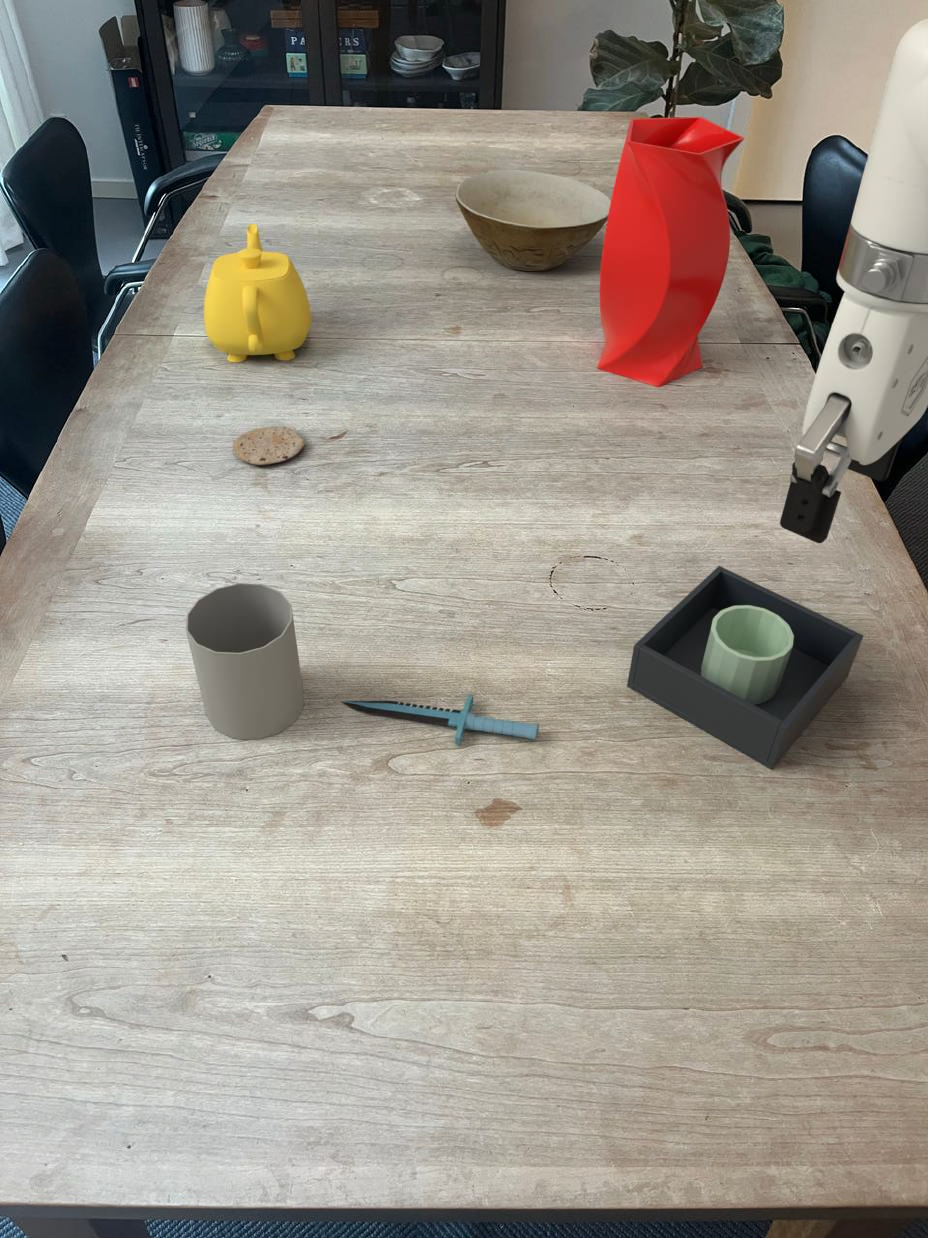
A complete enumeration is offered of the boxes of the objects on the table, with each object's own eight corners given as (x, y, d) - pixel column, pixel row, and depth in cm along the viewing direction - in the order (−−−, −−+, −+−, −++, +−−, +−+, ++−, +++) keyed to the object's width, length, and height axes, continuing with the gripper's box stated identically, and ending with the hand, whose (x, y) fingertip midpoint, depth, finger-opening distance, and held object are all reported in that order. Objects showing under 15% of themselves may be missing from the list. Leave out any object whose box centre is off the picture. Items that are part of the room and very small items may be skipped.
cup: (305, 734, 83) (293, 648, 77) (205, 745, 82) (184, 659, 76) (301, 663, 90) (289, 578, 83) (207, 673, 89) (188, 587, 82)
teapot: (205, 379, 127) (187, 282, 118) (215, 309, 141) (200, 218, 133) (314, 374, 128) (304, 278, 119) (313, 305, 142) (304, 215, 134)
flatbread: (239, 472, 111) (238, 465, 111) (229, 437, 116) (227, 430, 116) (311, 460, 113) (311, 452, 113) (297, 426, 118) (297, 418, 118)
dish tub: (847, 676, 89) (864, 635, 86) (771, 770, 81) (786, 728, 78) (709, 606, 96) (719, 565, 93) (626, 686, 88) (633, 644, 85)
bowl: (615, 237, 162) (623, 173, 156) (595, 299, 145) (602, 230, 139) (474, 222, 166) (475, 159, 159) (438, 280, 149) (438, 212, 142)
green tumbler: (792, 674, 89) (807, 629, 85) (755, 717, 85) (769, 672, 81) (724, 639, 92) (736, 594, 88) (686, 679, 88) (696, 634, 84)
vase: (614, 325, 139) (640, 108, 120) (717, 344, 135) (761, 123, 117) (583, 375, 129) (607, 145, 110) (694, 397, 125) (739, 163, 106)
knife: (330, 718, 84) (349, 676, 88) (332, 727, 85) (350, 686, 88) (532, 747, 81) (542, 703, 84) (532, 757, 82) (542, 712, 85)
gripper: (911, 330, 52) (829, 584, 63) (1023, 236, 62) (935, 471, 73) (780, 290, 56) (724, 536, 67) (906, 207, 65) (838, 435, 77)
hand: (834, 502), depth 70 cm, fingers open, 9 cm apart
